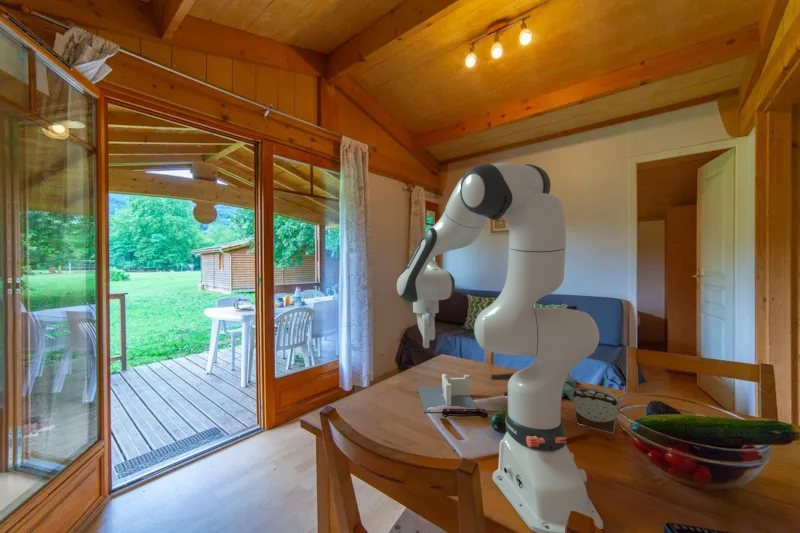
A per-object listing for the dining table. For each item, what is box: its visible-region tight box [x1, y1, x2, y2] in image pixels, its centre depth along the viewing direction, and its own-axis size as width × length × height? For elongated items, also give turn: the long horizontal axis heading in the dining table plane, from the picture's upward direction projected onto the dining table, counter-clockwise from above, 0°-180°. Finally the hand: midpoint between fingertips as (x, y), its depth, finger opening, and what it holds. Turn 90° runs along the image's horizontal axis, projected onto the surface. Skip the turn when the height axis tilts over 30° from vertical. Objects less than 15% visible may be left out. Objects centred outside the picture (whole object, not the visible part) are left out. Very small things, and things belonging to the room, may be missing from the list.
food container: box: [571, 386, 621, 435], centre depth 94 cm, size 12×6×10 cm, turn 56°
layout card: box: [417, 385, 478, 414], centre depth 113 cm, size 20×18×1 cm
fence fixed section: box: [447, 374, 470, 396], centre depth 115 cm, size 8×2×7 cm, turn 92°
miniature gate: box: [490, 372, 581, 403], centre depth 122 cm, size 27×6×30 cm
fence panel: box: [441, 373, 451, 406], centre depth 110 cm, size 10×2×7 cm, turn 0°
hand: (426, 347), depth 108 cm, fingers closed
